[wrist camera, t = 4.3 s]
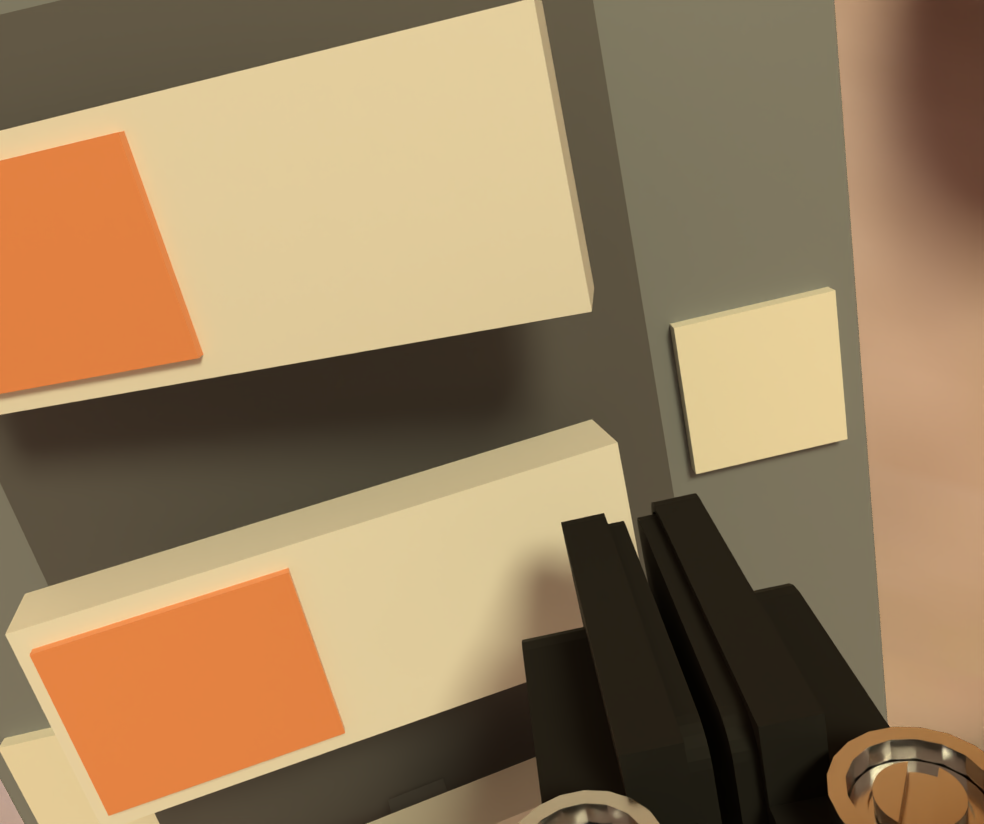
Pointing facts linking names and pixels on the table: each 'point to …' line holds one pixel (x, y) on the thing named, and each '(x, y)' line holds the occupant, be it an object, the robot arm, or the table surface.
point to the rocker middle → (313, 623)
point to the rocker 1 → (291, 213)
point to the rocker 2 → (471, 800)
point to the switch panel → (693, 251)
